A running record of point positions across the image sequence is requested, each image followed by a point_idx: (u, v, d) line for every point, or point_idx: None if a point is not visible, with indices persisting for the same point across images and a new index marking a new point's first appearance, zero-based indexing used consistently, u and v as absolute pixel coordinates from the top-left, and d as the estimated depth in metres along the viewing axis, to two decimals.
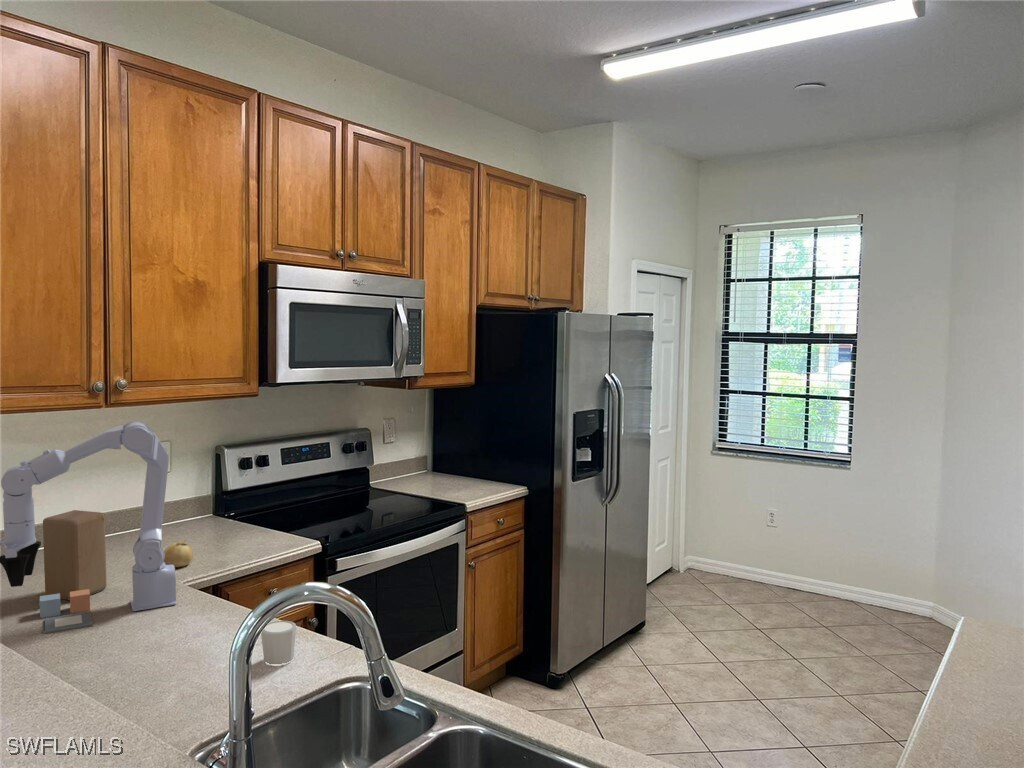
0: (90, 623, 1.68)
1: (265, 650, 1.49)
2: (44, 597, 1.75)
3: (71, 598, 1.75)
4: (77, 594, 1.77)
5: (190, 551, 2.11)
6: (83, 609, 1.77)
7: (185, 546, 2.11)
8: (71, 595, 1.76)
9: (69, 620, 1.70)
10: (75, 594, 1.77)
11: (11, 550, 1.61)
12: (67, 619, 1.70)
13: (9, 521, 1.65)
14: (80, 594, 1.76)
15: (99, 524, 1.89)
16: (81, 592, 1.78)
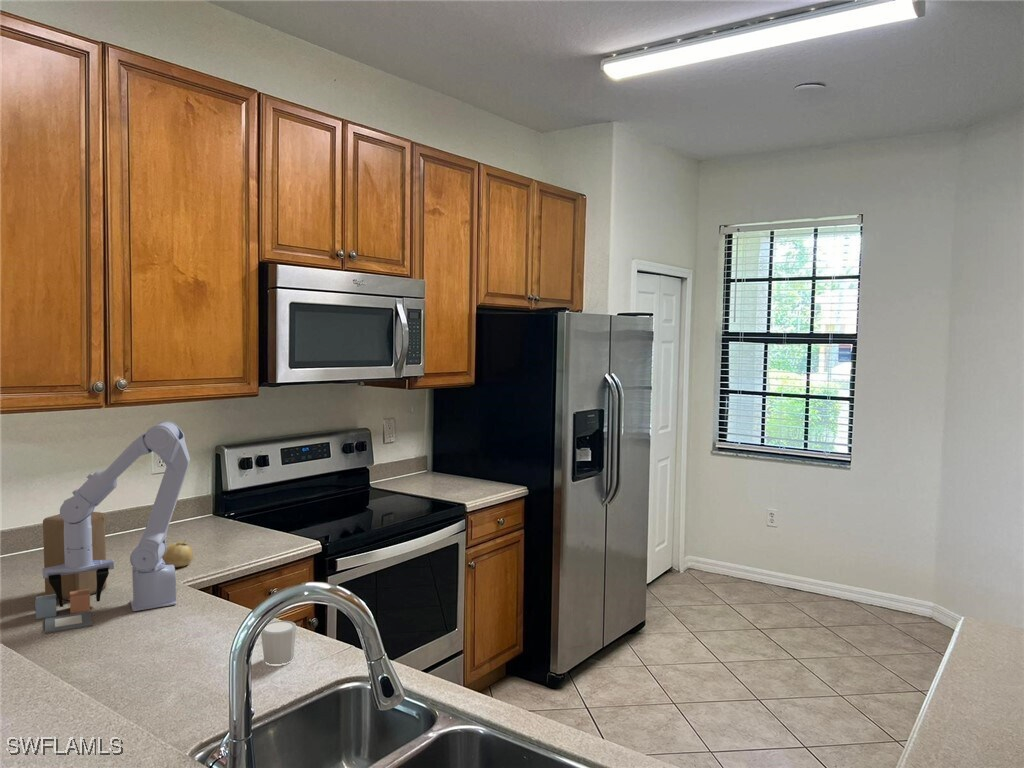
0: (90, 623, 1.68)
1: (265, 650, 1.49)
2: (40, 598, 1.74)
3: (71, 598, 1.75)
4: (77, 594, 1.77)
5: (190, 551, 2.11)
6: (83, 609, 1.77)
7: (185, 546, 2.11)
8: (71, 595, 1.76)
9: (69, 620, 1.70)
10: (75, 594, 1.77)
11: None
12: (67, 619, 1.70)
13: (67, 547, 1.74)
14: (80, 594, 1.76)
15: (99, 524, 1.89)
16: (81, 592, 1.78)
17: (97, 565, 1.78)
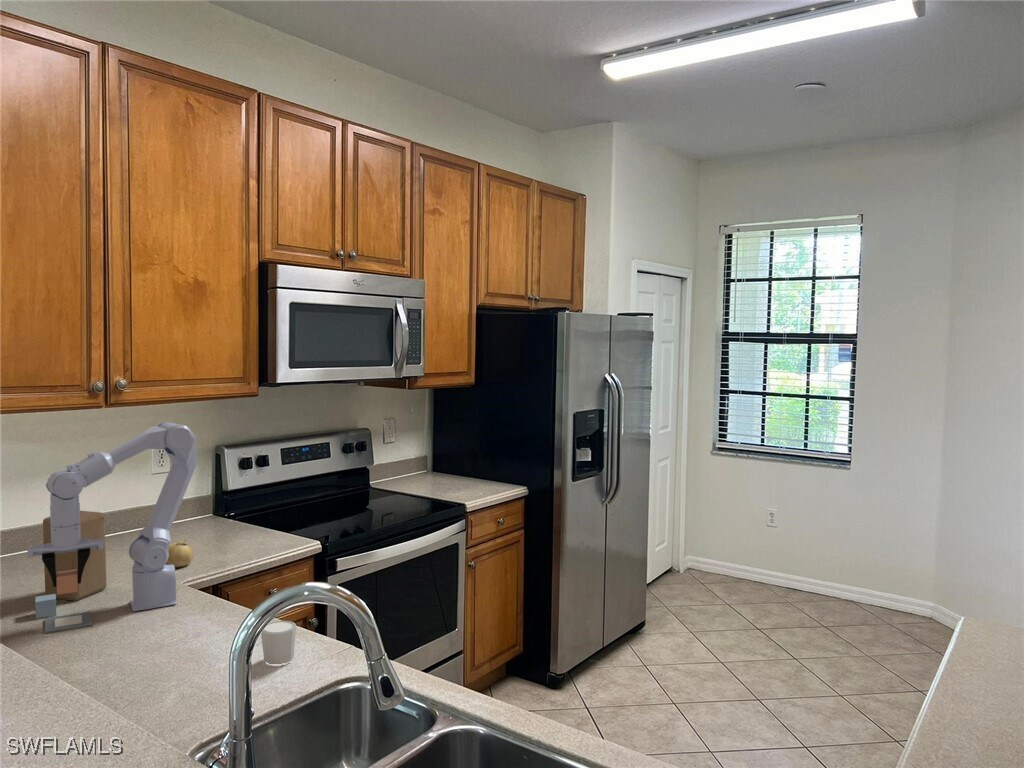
0: (90, 623, 1.68)
1: (265, 650, 1.49)
2: (40, 598, 1.74)
3: (58, 578, 1.67)
4: (64, 574, 1.68)
5: (190, 551, 2.11)
6: (70, 590, 1.68)
7: (185, 546, 2.11)
8: (58, 575, 1.67)
9: (69, 620, 1.70)
10: (62, 574, 1.68)
11: None
12: (67, 619, 1.70)
13: (59, 525, 1.65)
14: (67, 575, 1.68)
15: (99, 524, 1.89)
16: (68, 572, 1.69)
17: (85, 544, 1.69)
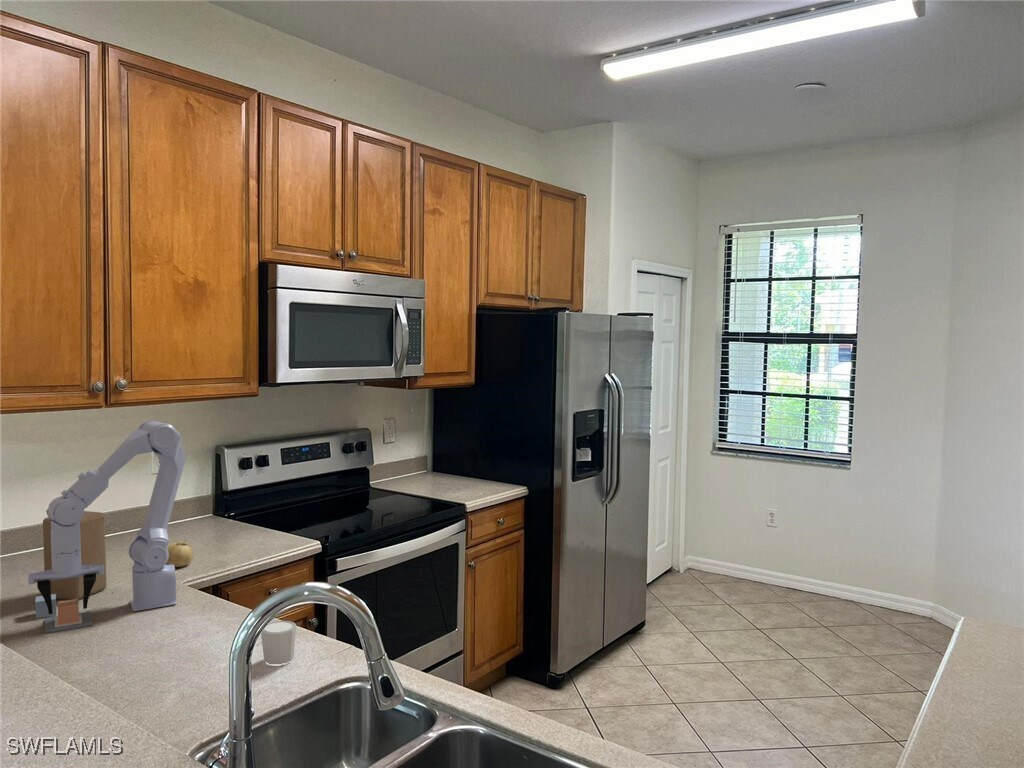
0: (90, 623, 1.68)
1: (265, 650, 1.49)
2: (40, 598, 1.74)
3: (59, 609, 1.67)
4: (65, 604, 1.68)
5: (190, 551, 2.11)
6: (71, 620, 1.68)
7: (185, 546, 2.11)
8: (59, 605, 1.68)
9: None
10: (63, 604, 1.69)
11: (28, 576, 1.65)
12: None
13: (60, 551, 1.66)
14: (68, 605, 1.68)
15: (99, 524, 1.89)
16: (69, 602, 1.70)
17: (86, 570, 1.69)
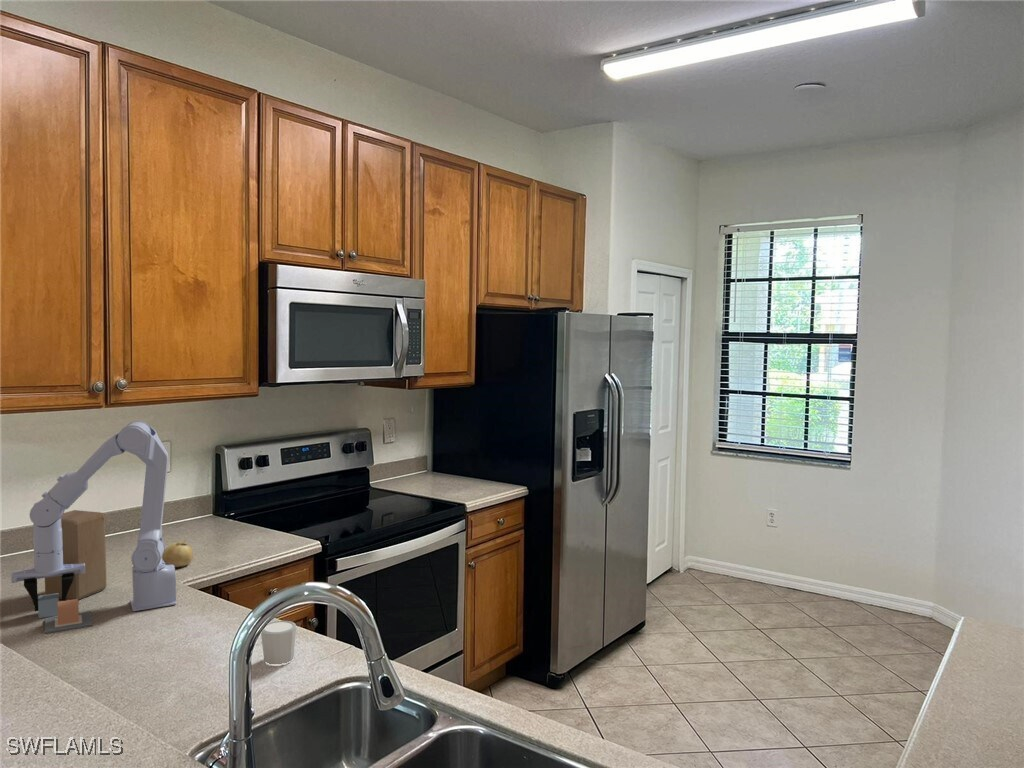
0: (90, 623, 1.68)
1: (265, 650, 1.49)
2: (43, 597, 1.75)
3: (59, 609, 1.67)
4: (65, 604, 1.68)
5: (190, 551, 2.11)
6: (71, 620, 1.68)
7: (185, 546, 2.11)
8: (59, 605, 1.68)
9: None
10: (63, 604, 1.69)
11: (11, 575, 1.70)
12: None
13: (37, 551, 1.71)
14: (68, 605, 1.68)
15: (99, 524, 1.89)
16: (69, 602, 1.70)
17: (68, 569, 1.75)
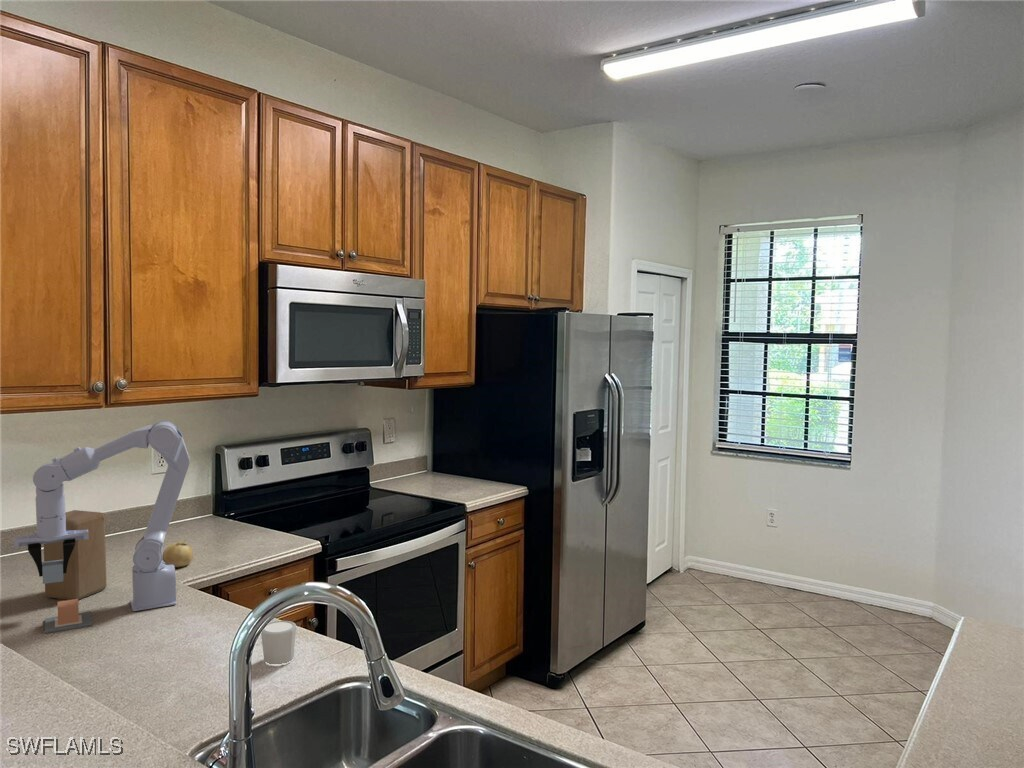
0: (90, 623, 1.68)
1: (265, 650, 1.49)
2: (47, 563, 1.73)
3: (59, 609, 1.67)
4: (65, 604, 1.68)
5: (190, 551, 2.11)
6: (71, 620, 1.68)
7: (185, 546, 2.11)
8: (59, 605, 1.68)
9: None
10: (63, 604, 1.69)
11: None
12: None
13: (40, 516, 1.70)
14: (68, 605, 1.68)
15: (99, 524, 1.89)
16: (69, 602, 1.70)
17: (70, 535, 1.73)
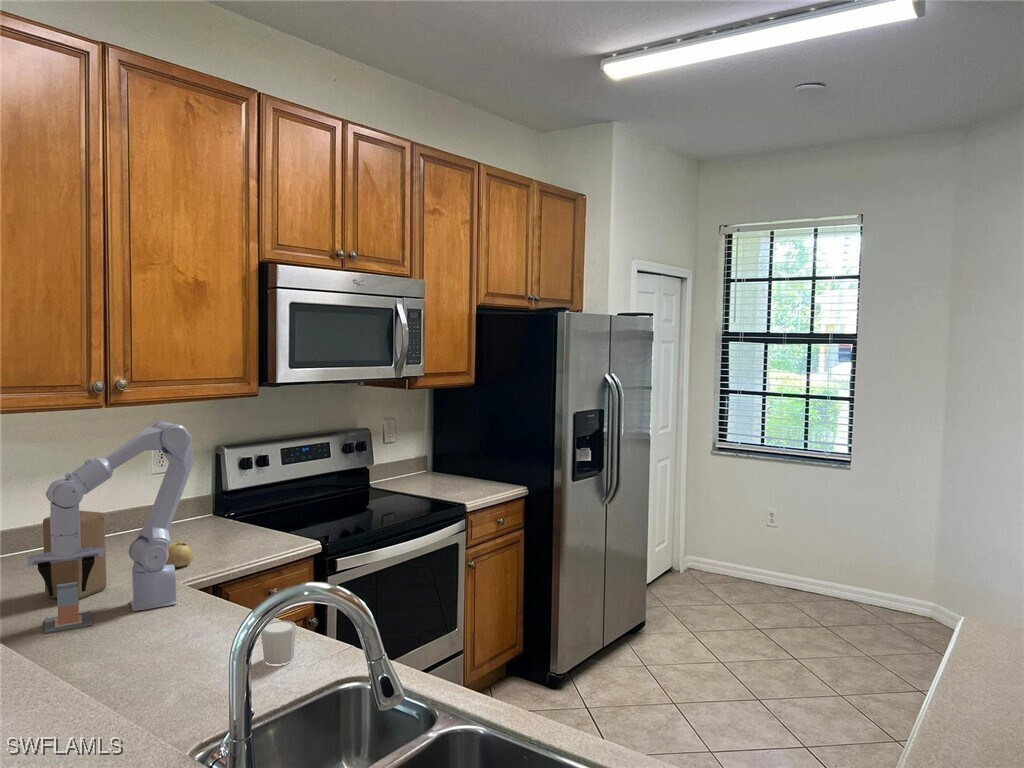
0: (90, 623, 1.68)
1: (265, 650, 1.49)
2: (61, 586, 1.69)
3: (59, 609, 1.67)
4: None
5: (190, 551, 2.11)
6: (71, 620, 1.68)
7: (185, 546, 2.11)
8: None
9: None
10: None
11: None
12: None
13: (60, 533, 1.65)
14: None
15: (99, 524, 1.89)
16: None
17: (85, 553, 1.69)
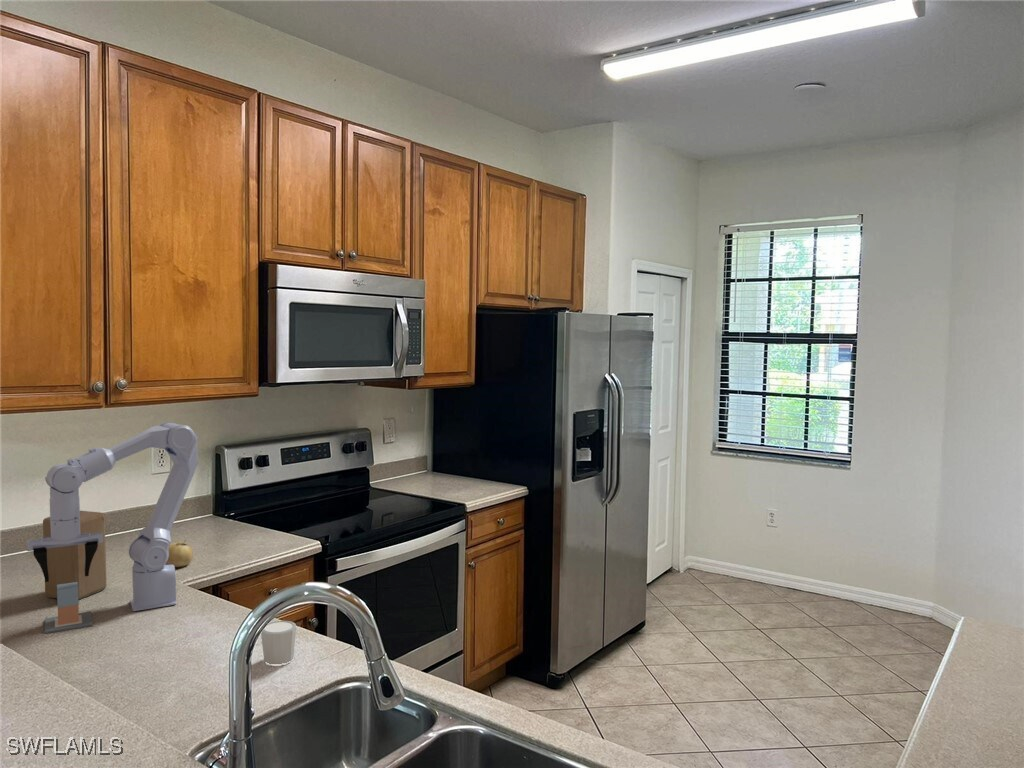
0: (90, 623, 1.68)
1: (265, 650, 1.49)
2: (61, 586, 1.69)
3: (59, 609, 1.67)
4: None
5: (190, 551, 2.11)
6: (71, 620, 1.68)
7: (185, 546, 2.11)
8: None
9: None
10: None
11: (27, 543, 1.64)
12: None
13: (59, 518, 1.65)
14: None
15: (99, 524, 1.89)
16: None
17: (85, 538, 1.69)
